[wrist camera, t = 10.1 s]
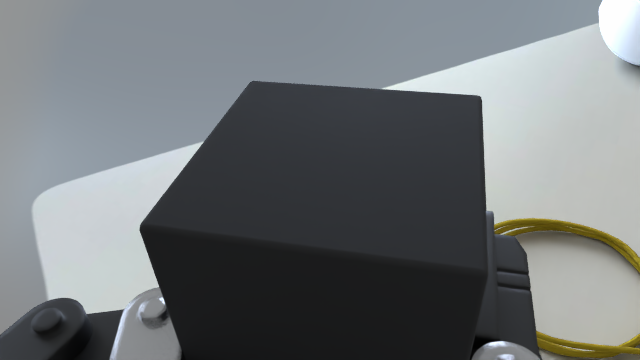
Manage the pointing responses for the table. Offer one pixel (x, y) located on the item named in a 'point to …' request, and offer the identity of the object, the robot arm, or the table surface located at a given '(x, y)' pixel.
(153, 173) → the table surface
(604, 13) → the decorative ball
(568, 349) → the yellow coiled cord
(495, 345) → the robot arm
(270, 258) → the tall dark pillar
